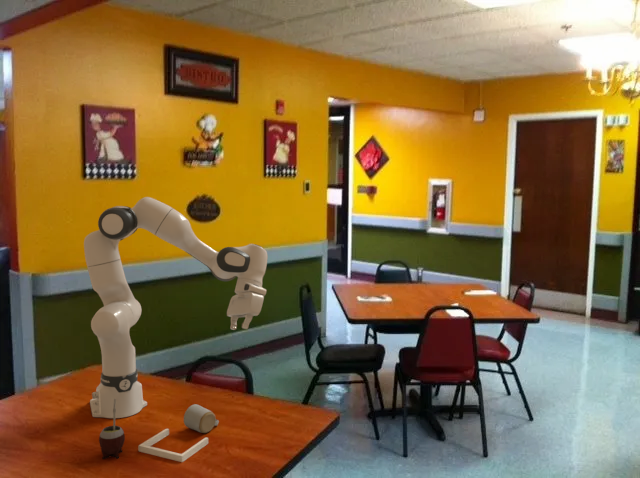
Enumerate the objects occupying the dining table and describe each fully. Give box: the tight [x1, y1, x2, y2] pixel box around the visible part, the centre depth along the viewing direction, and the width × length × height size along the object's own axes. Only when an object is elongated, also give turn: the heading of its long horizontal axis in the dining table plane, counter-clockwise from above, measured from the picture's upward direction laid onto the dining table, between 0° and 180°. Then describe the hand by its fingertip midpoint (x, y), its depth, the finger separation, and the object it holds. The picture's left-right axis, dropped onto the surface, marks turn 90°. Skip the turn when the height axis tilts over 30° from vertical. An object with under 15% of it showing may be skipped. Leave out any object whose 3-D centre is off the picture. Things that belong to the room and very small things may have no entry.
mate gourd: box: [98, 399, 126, 460], centre depth 171 cm, size 8×8×15 cm
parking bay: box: [137, 428, 209, 463], centre depth 176 cm, size 16×13×2 cm
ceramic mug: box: [183, 403, 220, 434], centre depth 189 cm, size 11×8×8 cm
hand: (238, 329), depth 198 cm, fingers open, 8 cm apart
